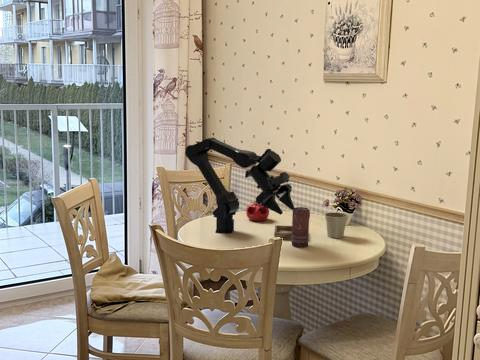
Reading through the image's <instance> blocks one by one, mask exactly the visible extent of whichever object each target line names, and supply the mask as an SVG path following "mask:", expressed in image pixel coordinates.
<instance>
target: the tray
mask: <svg viewBox="0 0 480 360" xmlns="http://www.w3.org/2000/svg"><path fill="white" fill-rule="evenodd" d="M273 237H280V238H283V239H282V240H283V241H285V240H286V241H287V240H288V241H292V225H279V224H278V225H277V224H275V226H274V234H273Z"/></svg>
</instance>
